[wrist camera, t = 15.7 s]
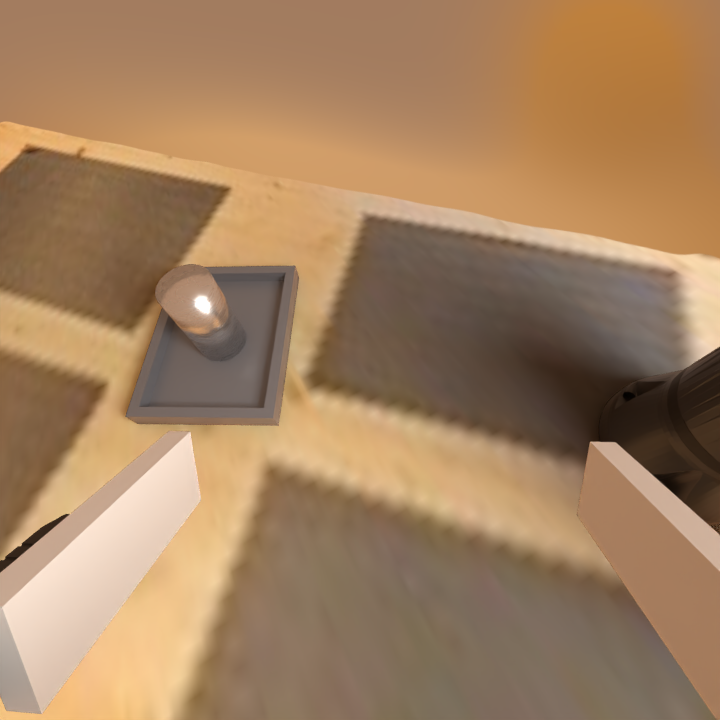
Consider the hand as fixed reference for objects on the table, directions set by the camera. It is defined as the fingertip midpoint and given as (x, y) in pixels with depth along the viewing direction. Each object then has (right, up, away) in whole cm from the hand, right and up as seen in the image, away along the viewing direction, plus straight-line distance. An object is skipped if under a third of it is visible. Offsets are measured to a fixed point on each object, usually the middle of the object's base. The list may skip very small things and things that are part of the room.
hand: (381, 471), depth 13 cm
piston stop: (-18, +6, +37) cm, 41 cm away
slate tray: (-18, +6, +37) cm, 42 cm away
